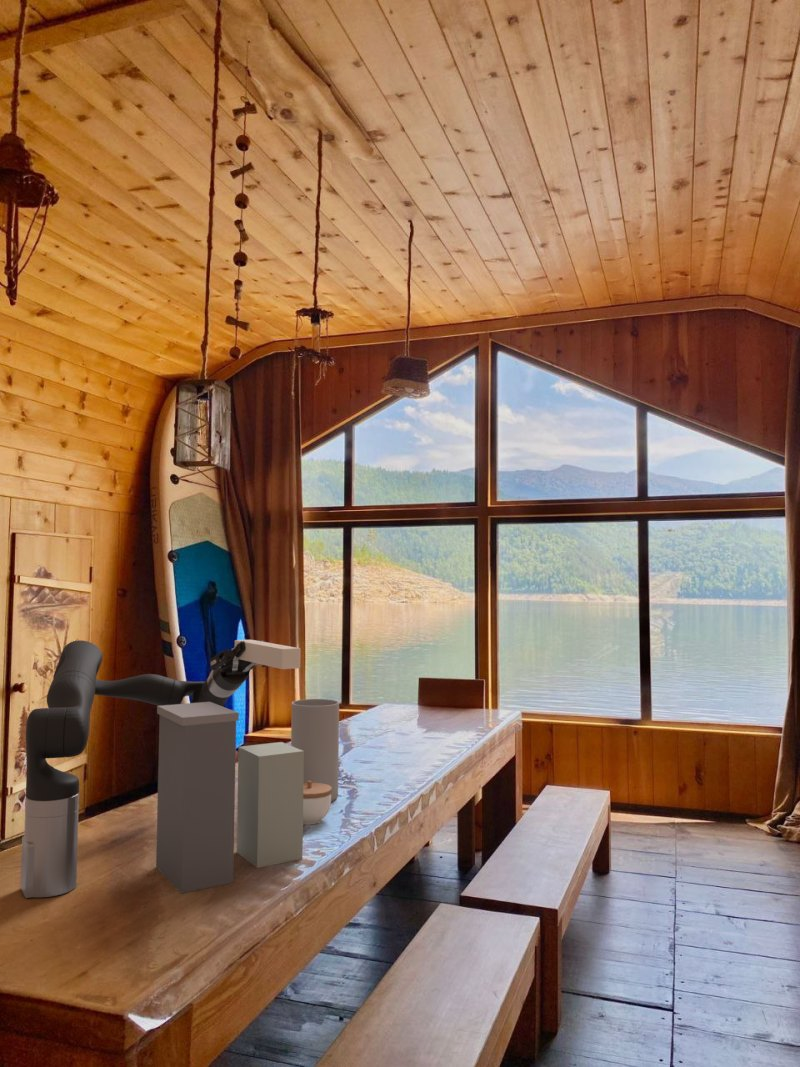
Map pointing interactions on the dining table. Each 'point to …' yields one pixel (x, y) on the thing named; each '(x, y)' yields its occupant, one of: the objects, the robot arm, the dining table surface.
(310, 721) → the cylinder vase
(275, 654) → the cream block
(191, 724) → the charcoal stand
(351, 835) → the dining table surface
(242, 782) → the sage-grey block
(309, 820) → the lidded jar
